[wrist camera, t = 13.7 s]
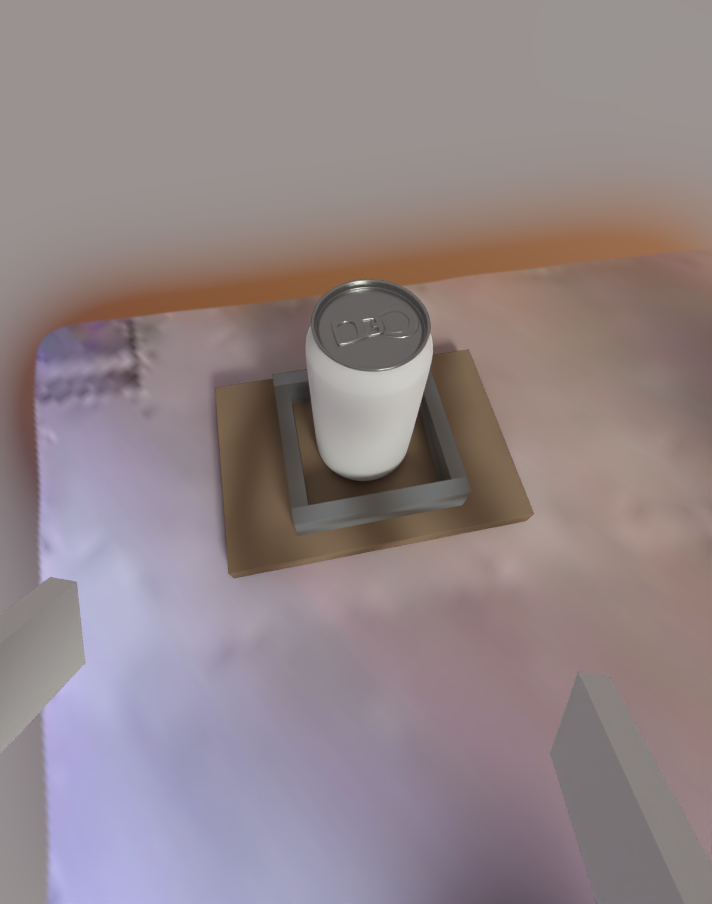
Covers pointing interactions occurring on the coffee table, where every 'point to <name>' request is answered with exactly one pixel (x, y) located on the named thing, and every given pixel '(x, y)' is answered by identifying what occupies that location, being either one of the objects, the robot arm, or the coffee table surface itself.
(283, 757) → the coffee table surface
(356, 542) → the wooden board with frame
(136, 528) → the coffee table surface
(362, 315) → the can
